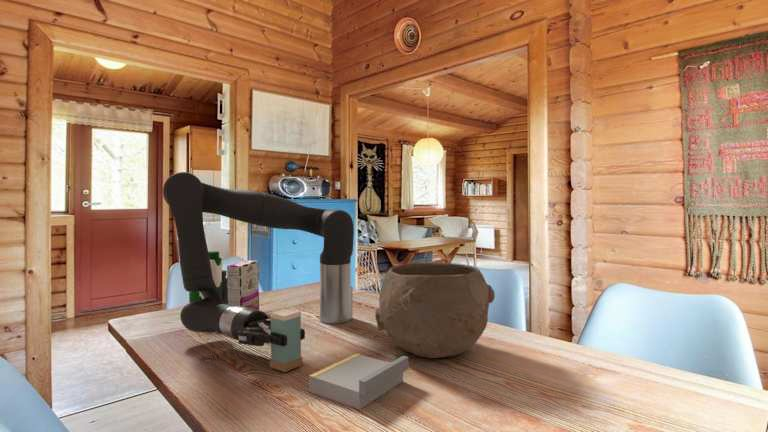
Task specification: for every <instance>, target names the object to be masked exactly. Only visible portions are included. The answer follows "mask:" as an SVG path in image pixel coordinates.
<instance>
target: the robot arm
mask: <svg viewBox="0 0 768 432" xmlns="http://www.w3.org/2000/svg"><path fill="white" fill-rule="evenodd" d="M162 195H163V200H164V201H165V203H166V204H167V205H168V206H169V207H170V211H171V213H172V216H173V220H174V224H175V228H176V234H177V244H178V245H177V246H178V258H179V266H180V272H181V278H182V284H183V288H184V290H185V291H186V292H188V293H189V292H198V291H199V292H201V294H202V295H203V297H204V299H201V300H198V301H194V302H191V303H189V302H188V303H187V304H185V305H184V306H183V307H182V309H181V311H180V316H179V317H180V322H181V324H182V325H183V326H184V327H185V328H186V329H187V330H188V331H191V332H194V333H217V334H220V335H223V336H225V337H226V336H227V337H228V338H230V339H233V340H237V341H238V344H240V345H247V346H255V347H264V346H265V344H267V345H270V346H271V344H276V345H279V346H283V347H284V346H286V345H287V336H286V335H283V334H279V333H276V332H274V333H273V332H272V331H271V318H270V317H268V315H267V314H266V312H265V311H262V310H260V309H259V310H255V309H251V308H247V307H242V306H233V305H229V304H224V302H223V299H222V297H221V295H220V294H219V291H218V289H217V287H216V285H215V283H214V280H213V275H212V269H211V263H210V258H209V253H208V252H209V248H208V244H207V239H206V233H205V226H204V215H203V213H207V214H215V215H219V216H222V217H224V218H225V217H226V218H229V219H232V220H236V221H239V222H243V223H247V224H251V225H253V226H254V225H256V226H259V227H266V228H269V229H270V228H271V229H279V230H295V231H302V232H305V233H310V234H313V235H315V236H319V237H322V238H323V248H322V251H321V252H320V255H319V321H320V322H322V323H326V324H343V323H346V322H350V321H351V320H352V318H353V317H354V315H353V313H354V312H353V310H354V309H353V308H354V307H353V305H354V304H353V302H354V300H353V297H354V295H353V293H354V292H353V291H354V289H353V287H352V284H351V283H352V282H351V281H352V278H351V277H352V274H351V271H352V269H351V266H352V261H351V259H352V255H353V252H354V235H355V234H354V233H355V232H354V231H355V230H354V229H355V228H354V226H355V225H354V221H353V218H352V216H351V215H350V214H349V212H347V211H345V210H341V209H326V208H325V209H324V208H316V207H308V206H306V205H302V204H299V203H297V202H295V201H293V200H290V199H287V198H285V197H281V196H279V195H275V194H270V193H267V192H263V191H262V192H261V191H258V190H257V191H256V190H249V189H233V188H224V187H219V186H215V185H211V184H208V183H205V182H202V181H201V180H200V179H199V177H197V176H196V175H194V174H193V173H190V172H187V171H180V172H175V173H173V174H171V175H170V176H169V177H168V178H166V180H165V181H164V184H163V186H162ZM305 339H306V330H305V329H304V328H301V341H303V340H305Z"/></svg>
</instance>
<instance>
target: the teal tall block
mask: <svg viewBox="0 0 768 432" xmlns="http://www.w3.org/2000/svg"><path fill="white" fill-rule="evenodd" d="M269 315H270V317H269V318H270V319H271V331H272V332H273V333H274V332H276V333H279V334H283V335H286V336H287V345H286V346H284V347H283V346H279V345H276V344H270V359H269V368H272V369H274V370H277V371H281V372H284V373H287V372H289V371H291V370H294V369H295V368H298V367H300V366H302V365H303V357H302V340H301V329H302V328H301V327H302V326H301V325H302V319H301V318H302V312H301V310H297V309H292V308H281V309H279V310H275V311H271V312H269Z"/></svg>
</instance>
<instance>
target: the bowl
mask: <svg viewBox="0 0 768 432" xmlns="http://www.w3.org/2000/svg"><path fill="white" fill-rule="evenodd" d="M495 296H496V295H495V291H494V289H493V288H492V286H491V285H489V284H488V283H487V281H486V278H484V275H483V273H482V271H481V270H480V269H479V268H478V267H476V266H472V265H467V264H461V263H450V262H448V263H447V262H415V263H404V264H398V265H394V266H391V267H390V268H389V269H388V271H387V272H386V274H385V275H384V278H383V280H382V283H381V286H380V291H379V296H378V297H379V299H378V302H379V303H378V305H379V308H376V309H375V313H374V314H375V320H376V325H377V329H378V330H379V331H385V332H386V333H387V334H388V335H389V337H390V338H391V339H392V340H393V341H394V342H395V343H396V345H398V346H399V347H401V348H402V349H403V350H404V351H405V352H407V353H410V354H412V355H415V356H418V357H422V358H427V359H437V358H448V357H452V356H453V357H454V356H456V355H458V354H462V353H464V352H466V351H468V350H470V348H471V347H473V346H474V345H475V344H476V343H477V342H478V340H479V339H480V338H481V336H482V334H484V332H485V330H486V328H487V325H488V321H489V320H488V316H489V306H490V304H492V303H493V302H494V300H495V298H496V297H495Z"/></svg>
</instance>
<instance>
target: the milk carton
mask: <svg viewBox="0 0 768 432" xmlns="http://www.w3.org/2000/svg"><path fill="white" fill-rule="evenodd" d="M208 253H209V258H210V263H211V269H212V275H213V280H214V283H215V285H216V287H217V289H218V291H219V294H220V295H221V297H222V270H223V269H222V268H223V261H224V257H222V256H221V257H220V251H217V250H216V251H214V250H213V251H211V250H210V251H208ZM188 297H189V299H188V300H189V302H188V304H189V303H191V302H194V301H198V300H201V299H204V297H203V295H202V294H201V292H199V291H198V292H188Z"/></svg>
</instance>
